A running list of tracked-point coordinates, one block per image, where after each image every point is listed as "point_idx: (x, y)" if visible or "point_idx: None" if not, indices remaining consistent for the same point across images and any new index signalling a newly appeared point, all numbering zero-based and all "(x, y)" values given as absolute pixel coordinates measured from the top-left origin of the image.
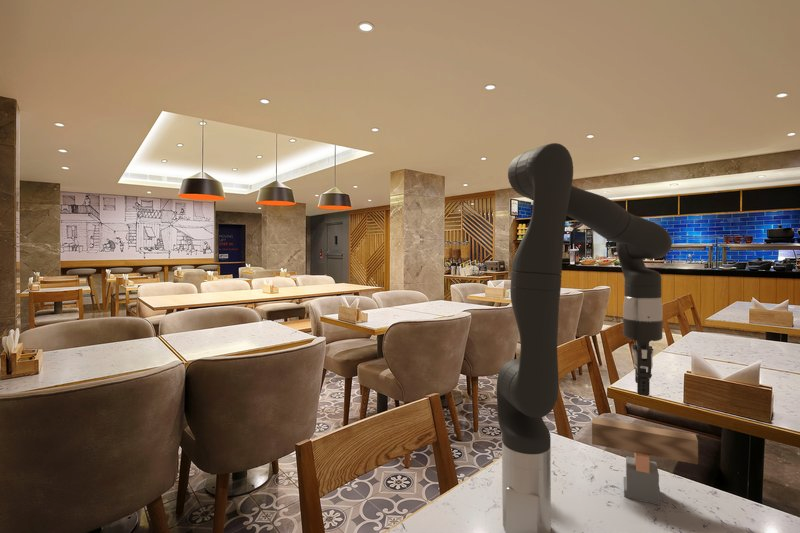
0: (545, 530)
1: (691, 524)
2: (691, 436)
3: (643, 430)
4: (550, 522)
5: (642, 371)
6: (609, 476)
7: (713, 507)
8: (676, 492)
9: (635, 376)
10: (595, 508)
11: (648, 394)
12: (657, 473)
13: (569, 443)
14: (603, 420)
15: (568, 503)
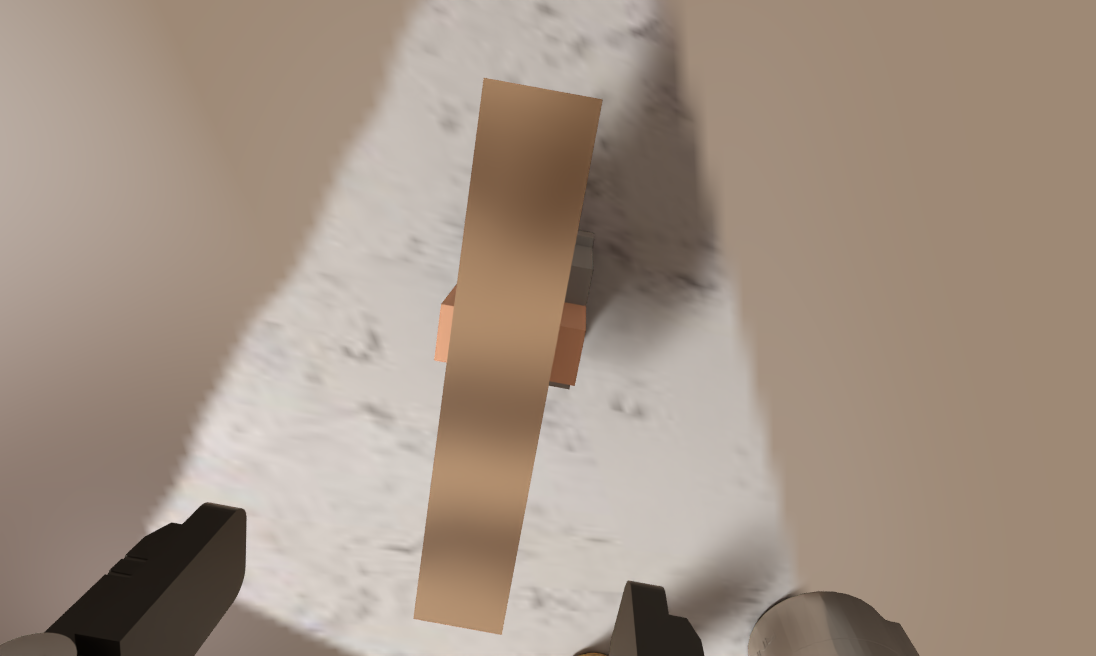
0: (885, 630)
1: (691, 160)
2: (536, 119)
3: (525, 395)
4: (859, 622)
5: (154, 641)
6: (436, 373)
7: (548, 26)
8: None
9: (202, 642)
10: (671, 455)
11: (660, 594)
12: (576, 270)
13: (211, 479)
14: (440, 574)
15: (663, 529)
